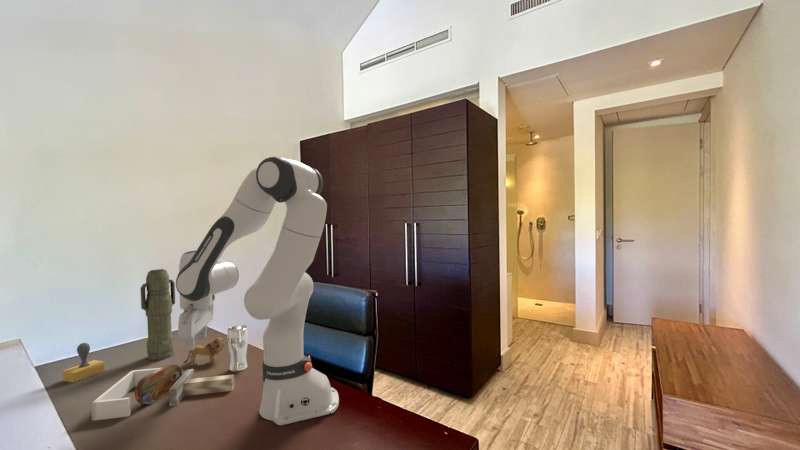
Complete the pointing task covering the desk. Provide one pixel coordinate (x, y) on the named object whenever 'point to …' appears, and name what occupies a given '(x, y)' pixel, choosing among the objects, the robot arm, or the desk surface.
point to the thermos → (158, 313)
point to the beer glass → (237, 347)
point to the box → (117, 397)
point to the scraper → (198, 386)
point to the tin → (157, 384)
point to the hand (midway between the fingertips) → (197, 343)
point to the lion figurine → (207, 350)
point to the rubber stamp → (83, 366)
